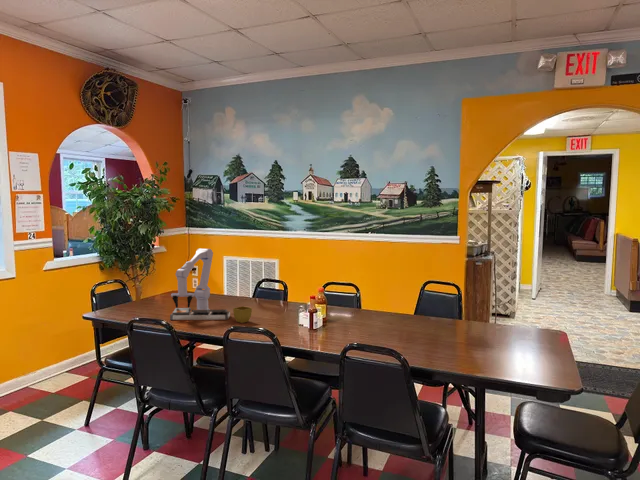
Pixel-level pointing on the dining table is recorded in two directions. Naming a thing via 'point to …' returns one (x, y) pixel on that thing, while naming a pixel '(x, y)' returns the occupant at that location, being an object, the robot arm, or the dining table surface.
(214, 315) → the grey switch panel
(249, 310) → the flower pot
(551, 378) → the dining table surface
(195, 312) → the rocker
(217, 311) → the panel
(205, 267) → the robot arm
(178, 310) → the grey rectangular frame
